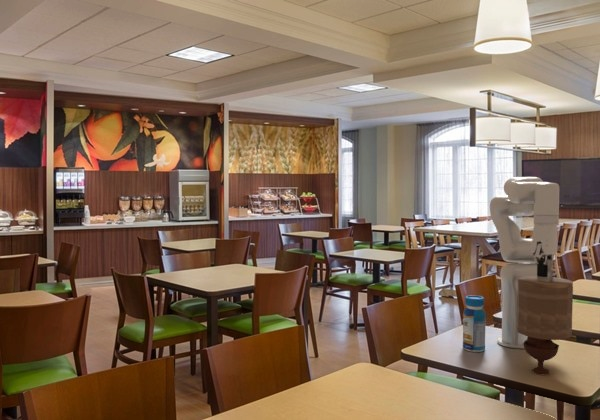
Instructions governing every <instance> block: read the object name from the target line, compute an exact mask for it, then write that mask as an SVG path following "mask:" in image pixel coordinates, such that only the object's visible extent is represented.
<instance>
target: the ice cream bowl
mask: <svg viewBox="0 0 600 420" xmlns="http://www.w3.org/2000/svg"><path fill="white" fill-rule="evenodd" d="M523 344H524V348H523V349H524V351H525V352H526V353H527V354H528V355H529V356H530V357H532V358H533V359H535V360H536V361H537V366H536V367H535V366H534V367H532V370H531V373H533V374H535V373H536V375H539V374H540V376H547V375H549V374H550V370H549V369H547V368H546V367H544V363H545V361H549V360H551V359H553V358H555V356H557V354H558V352H559V349H560V348H559V347H560V345H559V344H557V343H555V341H554V340H547V339H538V338H533V337H527V340H526V341H524V343H523Z"/></svg>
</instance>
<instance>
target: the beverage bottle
mask: <svg viewBox="0 0 600 420" xmlns="http://www.w3.org/2000/svg"><path fill="white" fill-rule="evenodd" d="M464 304H465V306H466V307H465V308H464V310H463V312H462V313H463V314H462V316H463V319H462V349H463V350H466V351H467V352H472V353H481V352H484V351H485V350H486V326H487V321H486V317H487V315H486V311H485V309H484V308H483V307H484V306H485V297H483V296H482V295H473V294H472V295H471V294H470V295H466V296H465V300H464Z"/></svg>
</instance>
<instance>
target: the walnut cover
mask: <svg viewBox="0 0 600 420" xmlns="http://www.w3.org/2000/svg"><path fill="white" fill-rule="evenodd" d="M543 259H544V258H543ZM553 261H554V258H553V259H547V264H546V265H548V275H547V277H540V276H525V277H519V278H518V296H517V331H518V333H520V334H523V335H525V336H528V337H533V338H538V339H547V340H552V341H560V340H568V339H569V338H571V337H572V336H573V332H572V331H573V301H574V300H573V299H574V298H573V297H574V296H573V295H574V283H573V281H572V280H570V279H567V278H561V277H555V276H554V262H553Z"/></svg>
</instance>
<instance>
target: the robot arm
mask: <svg viewBox="0 0 600 420" xmlns="http://www.w3.org/2000/svg"><path fill="white" fill-rule="evenodd" d="M503 191H504V193H505V195H504V194H503V195H497V196H494V197H493V198H492V199H491V200H490V202H489V215H490V217H491V220H492V222H493V225H494V227H495V229H496V232H497V236H498V243H499V249H500V254H501V258H502V259H503V261H505V262H507V264H505V265H503V266H502V267H501V268H500V272H499V273H500V282H501V290H502V293H501V294H502V295H501V297H502V304H501V307H502V308H501V309H502V310H501V311H502V312H501V337H498V338H497V344H499V345H500V346H503V347H506V348H510V349H520V350H521V349H525V348H524V344H523V343H524V341H526V340H527V337H528V336H525V335H523V334H520V333H518V331H517V296H518V278H519V277H525V276H540V277H547V275H548V265H546V264H547V259H553V263H555V262H554V261H555V260H554V256H555V255H556V254H557V251H558V226H559V224H560V219H559V218H560V213H559V212H560V185H559V184H558V183H556V182H549V181H544V180H542V179H541V178H540V177H539V176H538V177H537V176H514V177H510V178H509V179H507V180H506V181H505V183H504V184H503ZM530 216H531V217H532V216H533V229H532V230H533V231H532V238H524V237H522V235H521V234H522V233H521V230H520V227H519V225H518V224H517V223H516V222H515V221H514V220H513V219H511V217H530ZM543 258H544V259H543Z"/></svg>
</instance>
